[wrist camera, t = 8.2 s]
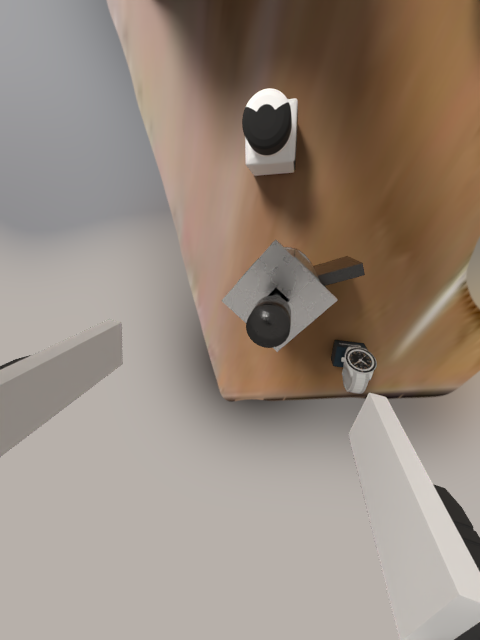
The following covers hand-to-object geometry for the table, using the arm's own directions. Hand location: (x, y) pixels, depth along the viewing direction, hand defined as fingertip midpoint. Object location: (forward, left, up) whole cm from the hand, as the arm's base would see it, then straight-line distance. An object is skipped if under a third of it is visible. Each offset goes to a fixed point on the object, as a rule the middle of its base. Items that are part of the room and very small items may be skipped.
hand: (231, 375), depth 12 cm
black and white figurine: (-14, -15, -37) cm, 42 cm away
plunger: (0, +1, -33) cm, 33 cm away
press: (-2, +2, -36) cm, 36 cm away
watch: (+2, +21, -37) cm, 42 cm away
